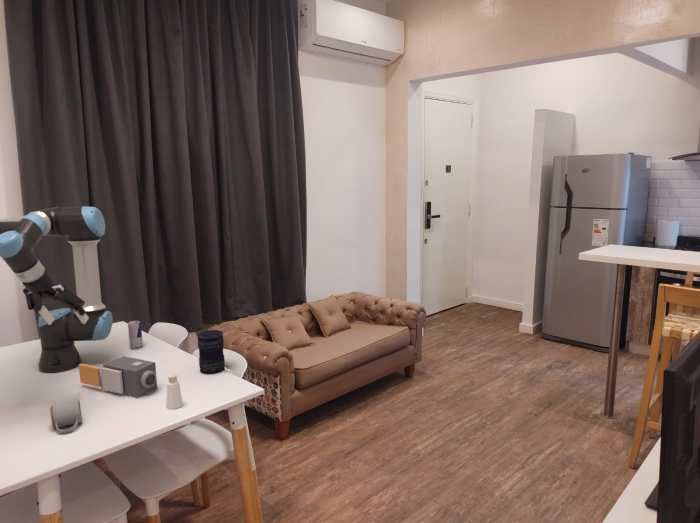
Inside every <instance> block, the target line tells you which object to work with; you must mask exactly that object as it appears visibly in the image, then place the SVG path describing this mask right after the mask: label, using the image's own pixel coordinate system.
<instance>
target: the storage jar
mask: <svg viewBox="0 0 700 523" xmlns="http://www.w3.org/2000/svg"><path fill="white" fill-rule="evenodd" d="M223 335H224V332H223V331H221V330H219V329H218V330H217V329H210V330H203V331H201V332H199V333H197V348H198V354H199V357H198V365H199V373H201V374H203V375H217V374H220V373H223V372H224V371H225V369H226V367H225V365H226V364H225V363H226V362H225V355H224V347H225V346H224V345H225V343H224V336H223Z"/></svg>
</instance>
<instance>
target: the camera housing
mask: <svg viewBox="0 0 700 523" xmlns="http://www.w3.org/2000/svg"><path fill="white" fill-rule="evenodd" d="M103 367H104V368H109V369H113V370H118V371H122V381H123V392H124V393H122V394H123V396H126V395H127V397H130V396H131V398H134V397H135V399H139V397H140V398H142V397H143V396H145V395H148V394H149V393H151V392H152V391H155V390H156V389H158V382H157V381H158V379H157V370H156V367H157V366H156V362H154V361H149V360H144V359H140V358H135V357H131V356H125V355H123V356H120V357H117V358H115V359H113V360H110V361H108V362H105V363H103V364H102V368H103ZM122 394H120V393H119V395H122ZM141 396H142V397H141Z"/></svg>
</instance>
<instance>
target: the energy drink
mask: <svg viewBox="0 0 700 523" xmlns="http://www.w3.org/2000/svg"><path fill="white" fill-rule="evenodd" d="M127 329H128V340H129V349H130V350H132V349H137V350H141V349H143V347H144V344H143V343H144V341H143V331H142V330H143V329H142V323H141V321H140V320H131V321H128V323H127ZM140 348H141V349H140Z"/></svg>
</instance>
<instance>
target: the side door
mask: <svg viewBox="0 0 700 523" xmlns="http://www.w3.org/2000/svg"><path fill="white" fill-rule="evenodd" d="M77 367H78V372H79V374H78V375H79V381H80V383H82V384H84V385H89V386H94V387H96V388H97V387H98V388H100V389H101V390H105V391H106V390H108V391H107V392H110V391H112V392H111V393H114V392H116V394H118V393H120V394H119V395H122V393H124V392H123V381H122V371H118V370H113V369H109V368H104V367H103V365H102V366H101V365H100V366H96V365H95V366H94V365H90V364H86V363H81V364H79V365H78V366H77Z"/></svg>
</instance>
